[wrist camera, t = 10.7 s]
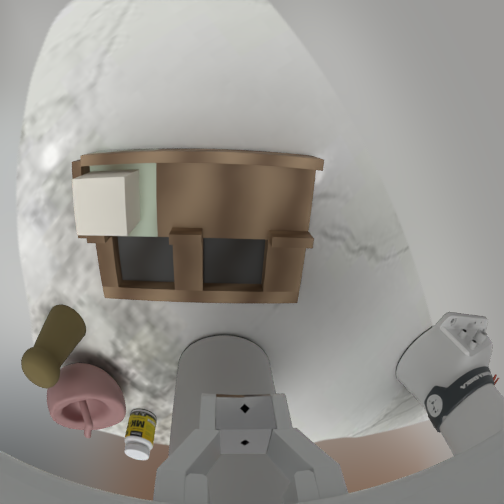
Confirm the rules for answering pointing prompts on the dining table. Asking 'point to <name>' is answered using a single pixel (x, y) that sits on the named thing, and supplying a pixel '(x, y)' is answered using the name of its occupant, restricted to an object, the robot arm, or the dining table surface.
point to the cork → (53, 346)
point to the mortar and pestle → (86, 399)
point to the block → (106, 202)
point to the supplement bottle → (140, 434)
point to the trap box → (209, 225)
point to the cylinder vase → (232, 383)
